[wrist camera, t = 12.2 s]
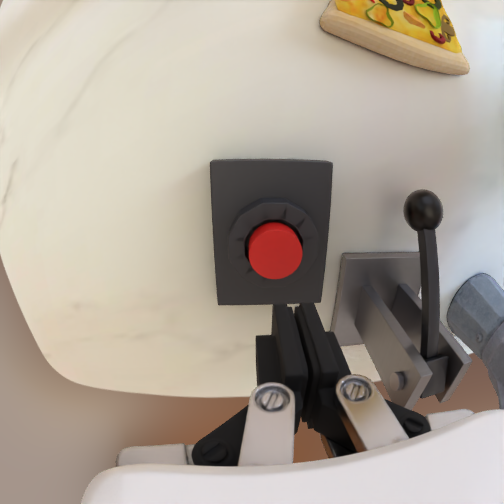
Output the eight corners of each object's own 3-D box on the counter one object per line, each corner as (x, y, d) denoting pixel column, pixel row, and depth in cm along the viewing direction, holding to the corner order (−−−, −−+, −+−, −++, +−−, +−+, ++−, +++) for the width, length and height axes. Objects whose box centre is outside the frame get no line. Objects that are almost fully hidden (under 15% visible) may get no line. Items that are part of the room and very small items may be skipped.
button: (248, 222, 20) (248, 230, 18) (299, 221, 20) (304, 229, 18) (248, 268, 21) (249, 279, 19) (296, 267, 21) (300, 278, 19)
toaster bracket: (342, 253, 24) (410, 348, 12) (422, 251, 24) (504, 323, 12) (328, 340, 28) (362, 441, 16) (400, 331, 28) (450, 413, 16)
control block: (212, 159, 21) (206, 163, 18) (326, 160, 21) (340, 165, 18) (219, 295, 25) (216, 317, 22) (316, 293, 26) (325, 314, 22)
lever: (393, 195, 19) (414, 181, 16) (424, 198, 19) (446, 185, 16) (398, 389, 17) (419, 402, 14) (429, 381, 17) (452, 391, 14)
